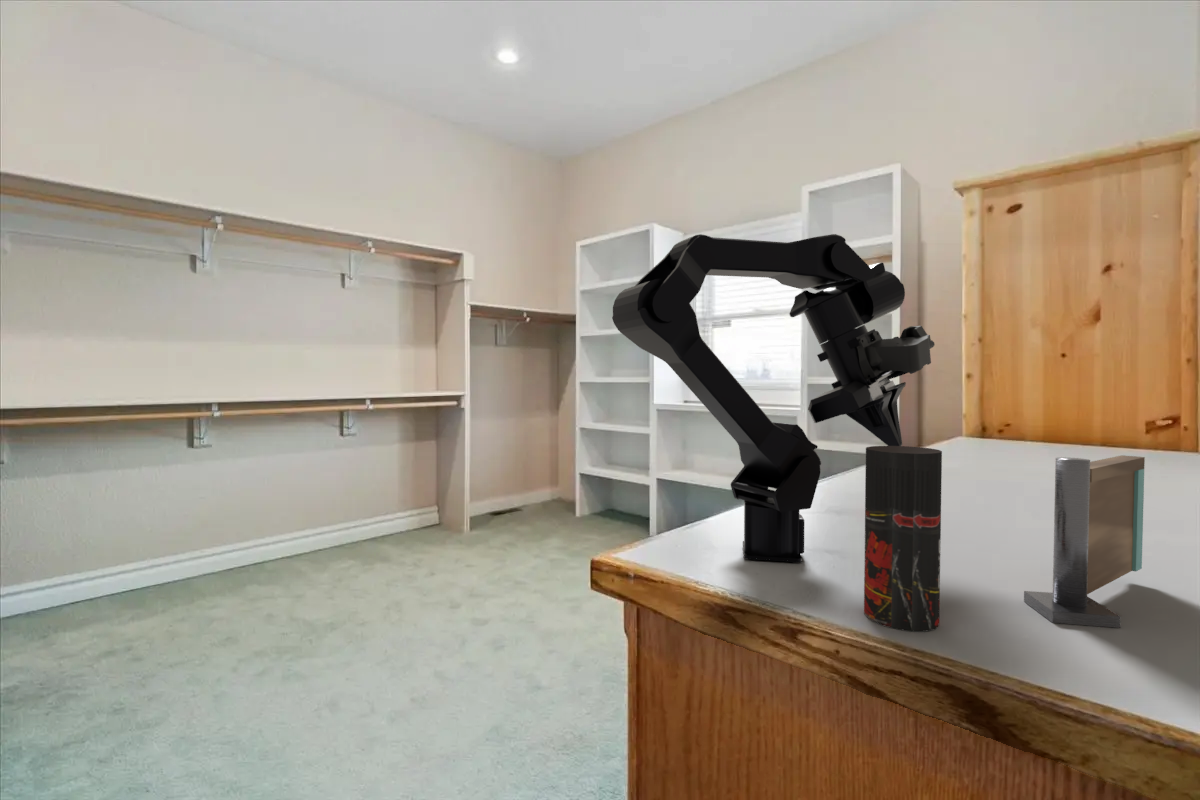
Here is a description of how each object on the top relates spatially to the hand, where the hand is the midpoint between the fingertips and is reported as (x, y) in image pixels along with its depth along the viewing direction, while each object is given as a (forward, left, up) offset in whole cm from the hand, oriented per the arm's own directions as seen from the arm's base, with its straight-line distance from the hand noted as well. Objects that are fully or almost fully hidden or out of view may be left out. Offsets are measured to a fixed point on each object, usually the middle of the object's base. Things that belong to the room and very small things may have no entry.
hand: (897, 447), depth 72 cm
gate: (+16, -12, -11) cm, 23 cm away
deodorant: (-6, -23, -13) cm, 27 cm away
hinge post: (+9, -19, -13) cm, 25 cm away
